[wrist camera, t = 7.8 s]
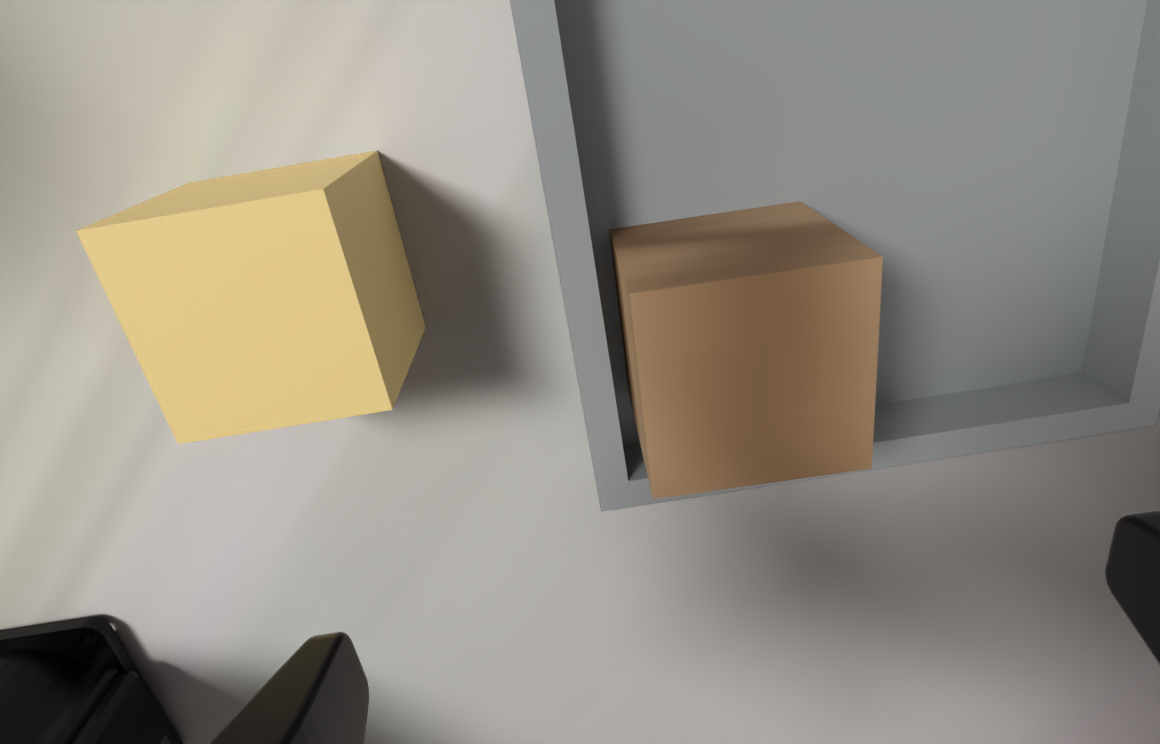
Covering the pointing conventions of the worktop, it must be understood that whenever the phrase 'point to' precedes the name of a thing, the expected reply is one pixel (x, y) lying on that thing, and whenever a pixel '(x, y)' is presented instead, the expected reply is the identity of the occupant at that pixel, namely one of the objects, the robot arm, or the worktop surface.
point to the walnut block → (748, 347)
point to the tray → (877, 193)
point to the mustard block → (264, 296)
